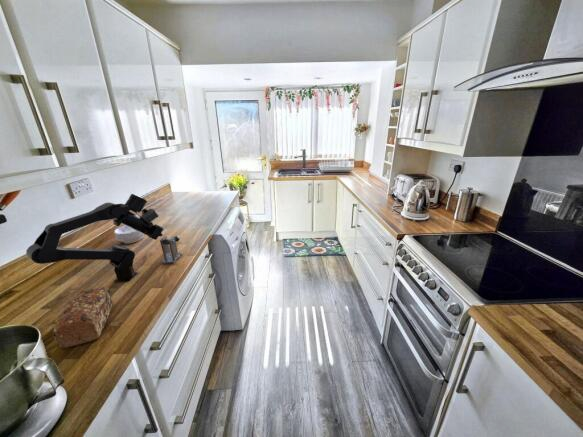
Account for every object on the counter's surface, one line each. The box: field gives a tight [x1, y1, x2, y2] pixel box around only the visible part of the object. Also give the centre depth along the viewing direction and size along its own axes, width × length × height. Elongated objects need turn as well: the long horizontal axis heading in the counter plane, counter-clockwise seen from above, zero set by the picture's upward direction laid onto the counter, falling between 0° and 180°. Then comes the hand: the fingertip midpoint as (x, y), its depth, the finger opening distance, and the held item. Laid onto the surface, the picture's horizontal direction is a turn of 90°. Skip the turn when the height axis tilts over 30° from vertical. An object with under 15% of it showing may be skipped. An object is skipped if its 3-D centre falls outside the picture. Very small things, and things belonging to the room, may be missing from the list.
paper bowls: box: [113, 224, 146, 244], centre depth 141 cm, size 15×15×8 cm
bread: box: [52, 286, 114, 348], centre depth 80 cm, size 19×11×10 cm, turn 22°
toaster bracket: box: [159, 236, 183, 265], centre depth 118 cm, size 9×6×12 cm, turn 179°
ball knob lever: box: [164, 235, 180, 245], centre depth 121 cm, size 11×3×3 cm, turn 178°
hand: (161, 235), depth 118 cm, fingers closed
